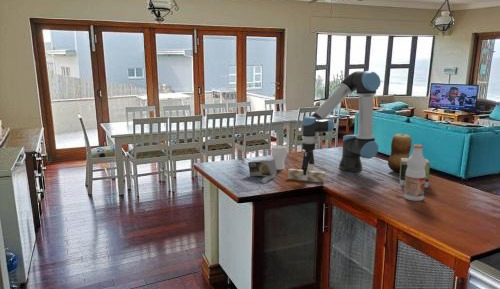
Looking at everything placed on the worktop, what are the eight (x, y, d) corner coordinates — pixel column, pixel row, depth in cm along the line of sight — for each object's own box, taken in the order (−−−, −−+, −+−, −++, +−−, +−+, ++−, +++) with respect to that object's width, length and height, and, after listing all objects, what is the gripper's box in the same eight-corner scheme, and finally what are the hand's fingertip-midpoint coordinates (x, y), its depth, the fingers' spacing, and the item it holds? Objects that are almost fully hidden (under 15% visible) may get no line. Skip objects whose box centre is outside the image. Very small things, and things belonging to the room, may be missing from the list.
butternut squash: (403, 175, 239) (406, 136, 234) (383, 171, 249) (386, 134, 244) (413, 171, 248) (416, 134, 243) (394, 168, 258) (396, 131, 253)
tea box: (426, 183, 223) (428, 158, 220) (428, 188, 213) (430, 162, 210) (398, 181, 227) (400, 157, 225) (399, 185, 218) (401, 160, 215)
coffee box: (274, 158, 234) (252, 160, 243) (269, 160, 229) (247, 162, 237) (277, 173, 235) (255, 173, 244) (272, 175, 230) (249, 176, 238)
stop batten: (276, 174, 242) (276, 171, 241) (265, 183, 224) (265, 179, 223) (273, 174, 242) (273, 171, 242) (262, 182, 224) (262, 179, 224)
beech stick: (325, 181, 227) (325, 172, 226) (324, 183, 225) (324, 173, 223) (289, 177, 235) (289, 168, 234) (288, 179, 233) (288, 169, 232)
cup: (285, 170, 251) (286, 148, 249) (270, 170, 253) (270, 148, 251) (287, 166, 262) (287, 145, 259) (272, 166, 264) (272, 145, 261)
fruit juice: (401, 194, 202) (405, 143, 197) (420, 195, 201) (424, 143, 195) (406, 200, 193) (410, 146, 188) (425, 201, 191) (430, 147, 186)
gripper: (307, 138, 238) (306, 171, 242) (296, 146, 216) (296, 182, 220) (319, 139, 235) (318, 172, 240) (309, 147, 213) (308, 183, 217)
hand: (307, 177), depth 230 cm, fingers open, 13 cm apart
